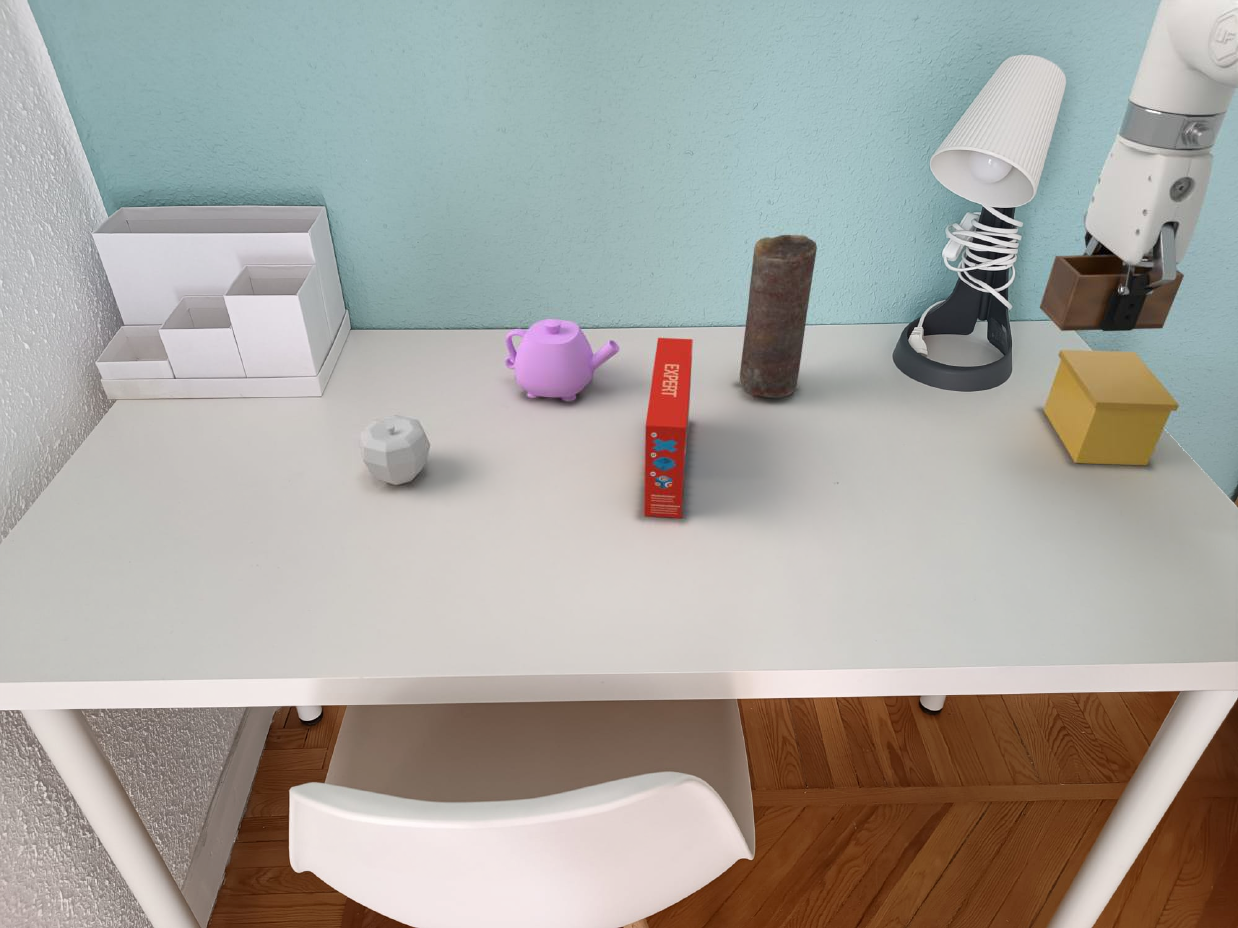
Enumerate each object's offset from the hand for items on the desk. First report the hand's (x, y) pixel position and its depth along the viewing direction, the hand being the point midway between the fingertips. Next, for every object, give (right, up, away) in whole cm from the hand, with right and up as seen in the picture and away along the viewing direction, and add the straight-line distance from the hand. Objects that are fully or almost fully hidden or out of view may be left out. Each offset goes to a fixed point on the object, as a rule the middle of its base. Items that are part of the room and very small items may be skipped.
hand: (1101, 314), depth 86 cm
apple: (-73, -16, +12) cm, 75 cm away
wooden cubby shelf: (0, 0, 0) cm, 0 cm away
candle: (-29, -6, +26) cm, 39 cm away
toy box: (-42, -15, +13) cm, 47 cm away
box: (+8, -12, +17) cm, 22 cm away
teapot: (-55, -5, +27) cm, 61 cm away
